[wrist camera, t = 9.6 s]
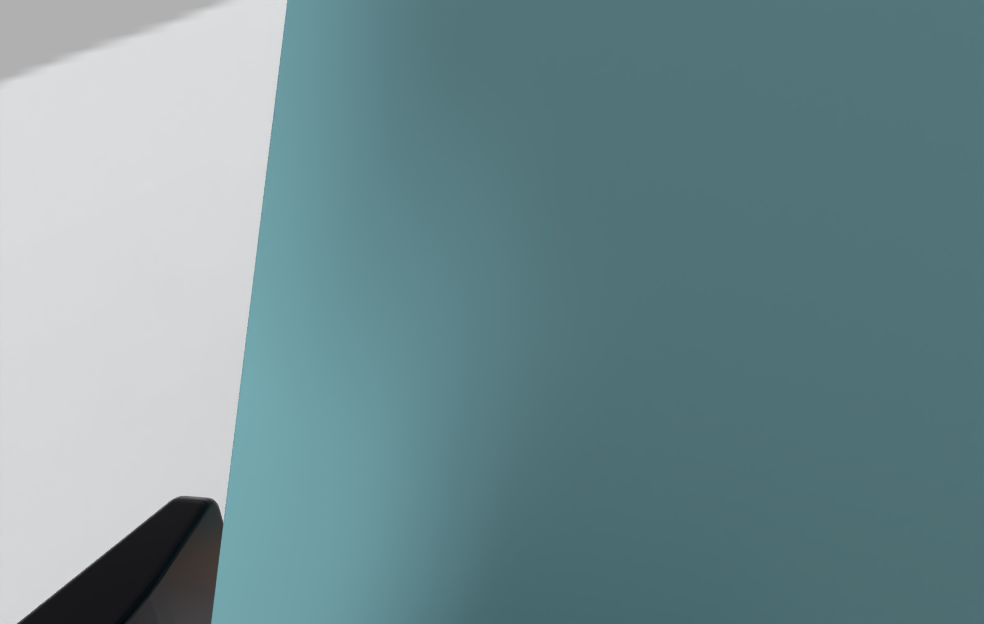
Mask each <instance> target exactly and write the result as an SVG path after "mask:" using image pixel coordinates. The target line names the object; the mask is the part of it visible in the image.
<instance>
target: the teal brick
mask: <svg viewBox="0 0 984 624" xmlns="http://www.w3.org/2000/svg"><path fill="white" fill-rule="evenodd" d="M211 624H984V0H287V9H286V17H285V25H284V33H283V41H282V49H281V58H280V66H279V74H278V82H277V90H276V98H275V107H274V115H273V123H272V131H271V139H270V147H269V156H268V164H267V172H266V180H265V188H264V196H263V205H262V213H261V221H260V229H259V237H258V245H257V254H256V262H255V270H254V278H253V286H252V294H251V303H250V311H249V319H248V327H247V335H246V343H245V352H244V360H243V368H242V376H241V384H240V392H239V401H238V409H237V417H236V425H235V433H234V441H233V450H232V458H231V466H230V474H229V482H228V490H227V499H226V507H225V515H224V523H223V531H222V539H221V548H220V556H219V564H218V572H217V580H216V588H215V597H214V605H213V613H212V621H211Z"/></svg>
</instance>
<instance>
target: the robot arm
mask: <svg viewBox="0 0 984 624" xmlns="http://www.w3.org/2000/svg"><path fill="white" fill-rule="evenodd" d="M222 531H223V520H222V516H221V513H220V509H219V506H218V504H217V503H216V502H215V501H214V500H213V499H211V498H204V497H192V496H180V497H177V498H175V499H173V500H171V501H170V502H169V503H167V504H166V505H165V506H164V507H162V508H161V509H160V510H159V511H157V512H156V513H155V514H154V515H152V516H151V517H150V518H149V519H147V520H146V521H145V522H144V523H142V524H141V525H140V526H139V527H137V528H136V529H135V530H134V531H132V532H131V533H130V534H129V535H127V536H126V537H125V538H124V539H122V540H121V541H120V542H119V543H117V544H116V545H115V546H114V547H112V548H111V549H110V550H109V551H107V552H106V553H105V554H104V555H102V556H101V557H100V558H99V559H97V560H96V561H95V562H94V563H92V564H91V565H90V566H89V567H87V568H86V569H85V570H83V571H82V572H81V573H80V574H78V575H77V576H76V577H75V578H73V579H72V580H71V581H70V582H68V583H67V584H66V585H65V586H63V587H62V588H61V589H60V590H58V591H57V592H56V593H55V594H53V595H52V596H51V597H50V598H48V599H47V600H46V601H45V602H43V603H42V604H41V605H40V606H38V607H37V608H36V609H35V610H33V611H32V612H31V613H30V614H28V615H27V616H26V617H25V618H23V619H22V620H21V621H20V622H18V623H17V624H211V621H212V613H213V605H214V597H215V588H216V580H217V572H218V564H219V556H220V548H221V539H222Z"/></svg>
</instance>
